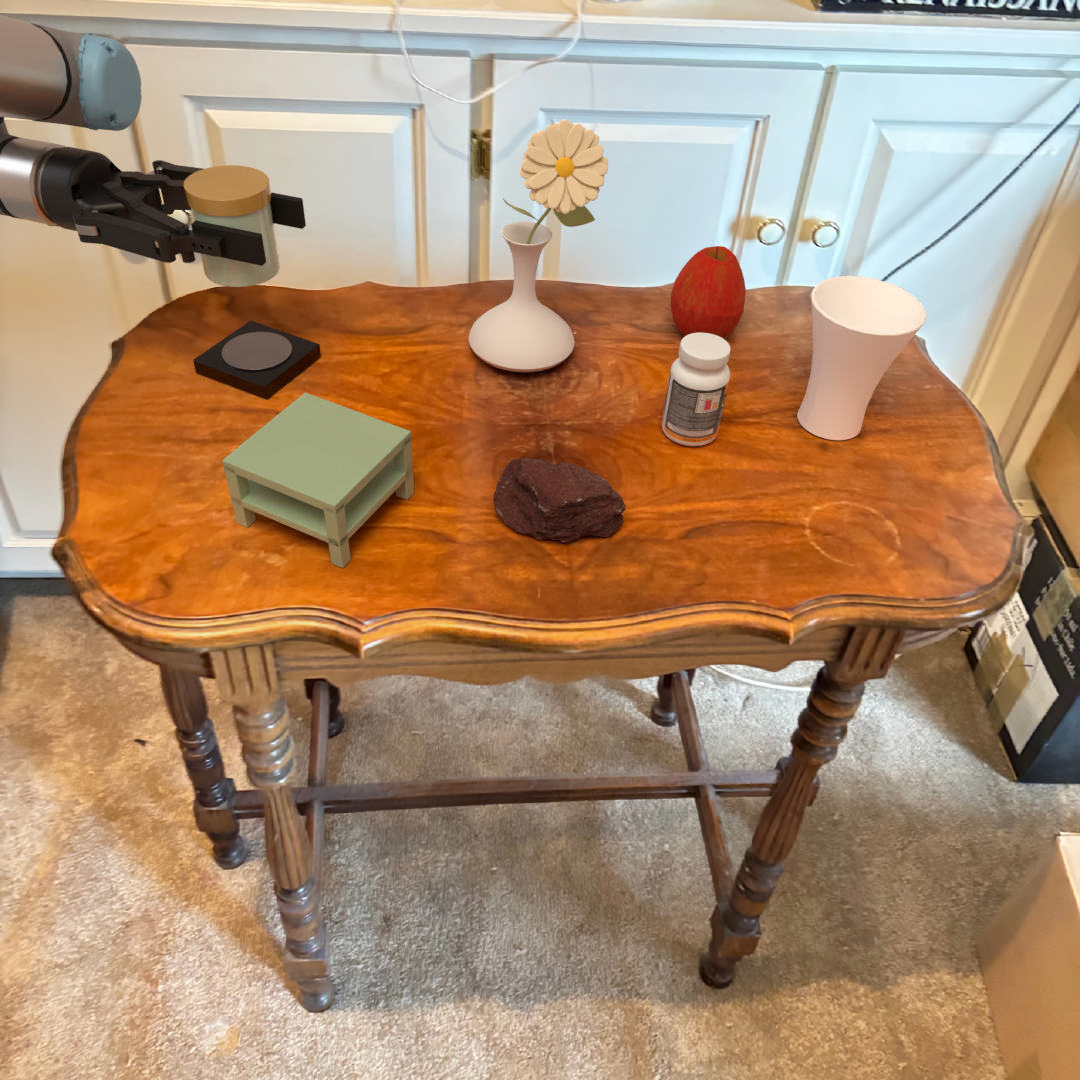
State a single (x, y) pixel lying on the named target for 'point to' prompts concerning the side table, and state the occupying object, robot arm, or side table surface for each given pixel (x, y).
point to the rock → (556, 501)
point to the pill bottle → (697, 390)
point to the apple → (709, 293)
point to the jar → (235, 218)
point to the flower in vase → (562, 185)
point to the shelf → (320, 471)
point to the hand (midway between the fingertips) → (282, 231)
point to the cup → (853, 349)
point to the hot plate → (257, 359)
